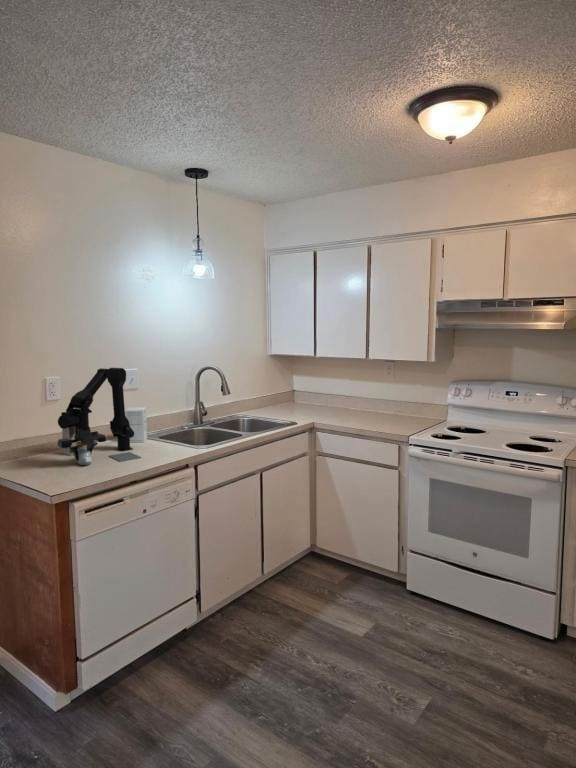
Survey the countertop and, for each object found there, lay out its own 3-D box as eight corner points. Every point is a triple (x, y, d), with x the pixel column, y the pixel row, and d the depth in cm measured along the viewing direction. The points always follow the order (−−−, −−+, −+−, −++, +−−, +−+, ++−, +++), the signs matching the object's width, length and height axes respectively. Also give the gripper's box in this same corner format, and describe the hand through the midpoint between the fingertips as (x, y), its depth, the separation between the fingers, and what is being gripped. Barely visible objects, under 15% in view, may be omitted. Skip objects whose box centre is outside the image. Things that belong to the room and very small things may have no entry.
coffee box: (71, 456, 229) (69, 421, 227) (62, 454, 233) (60, 419, 231) (88, 451, 237) (87, 418, 235) (79, 449, 240) (78, 416, 238)
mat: (108, 456, 229) (108, 455, 229) (129, 452, 236) (129, 451, 236) (120, 461, 220) (120, 460, 220) (141, 457, 227) (141, 457, 227)
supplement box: (147, 438, 266) (147, 406, 264) (144, 442, 257) (144, 409, 255) (129, 438, 265) (128, 407, 263) (125, 442, 256) (124, 410, 254)
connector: (73, 460, 219) (73, 449, 219) (84, 459, 222) (83, 448, 222) (84, 466, 211) (83, 455, 210) (94, 464, 214) (94, 453, 213)
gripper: (65, 430, 203) (67, 468, 205) (110, 424, 216) (111, 460, 218) (56, 426, 211) (58, 462, 213) (100, 420, 224) (101, 454, 226)
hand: (83, 459), depth 217 cm, fingers closed on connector, 4 cm apart
